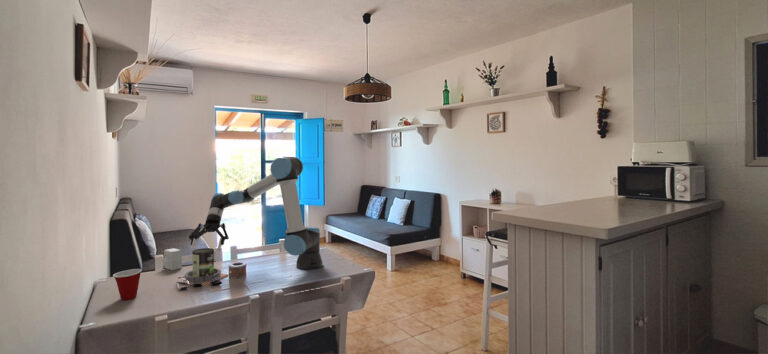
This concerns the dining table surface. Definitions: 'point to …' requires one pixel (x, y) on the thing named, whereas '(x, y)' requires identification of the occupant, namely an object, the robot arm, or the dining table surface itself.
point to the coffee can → (203, 262)
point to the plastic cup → (128, 283)
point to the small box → (173, 259)
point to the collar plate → (205, 279)
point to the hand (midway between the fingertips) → (205, 250)
